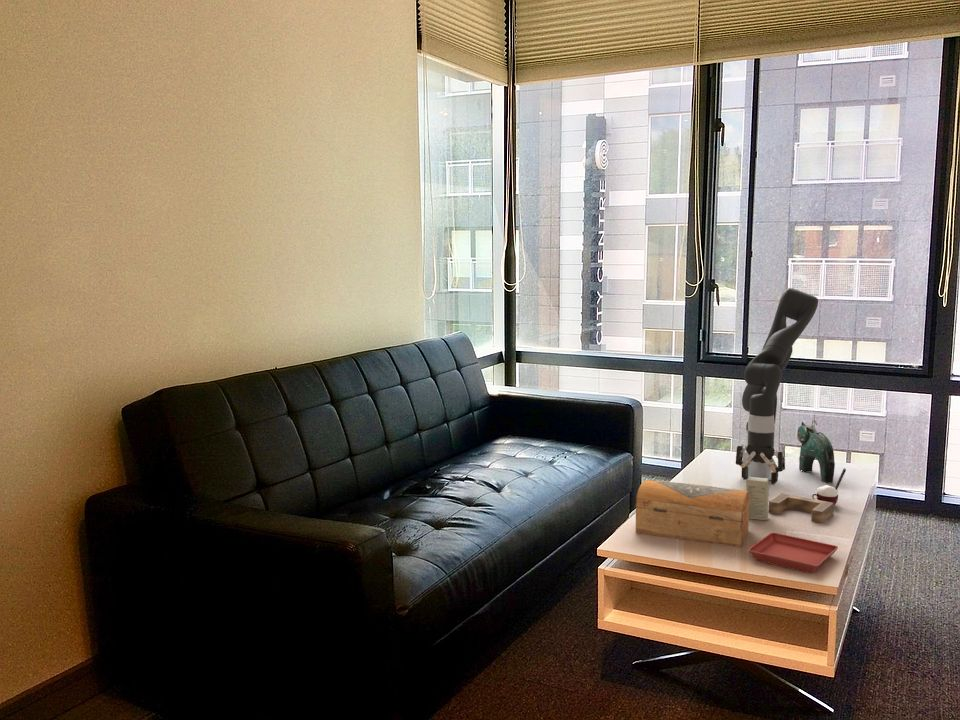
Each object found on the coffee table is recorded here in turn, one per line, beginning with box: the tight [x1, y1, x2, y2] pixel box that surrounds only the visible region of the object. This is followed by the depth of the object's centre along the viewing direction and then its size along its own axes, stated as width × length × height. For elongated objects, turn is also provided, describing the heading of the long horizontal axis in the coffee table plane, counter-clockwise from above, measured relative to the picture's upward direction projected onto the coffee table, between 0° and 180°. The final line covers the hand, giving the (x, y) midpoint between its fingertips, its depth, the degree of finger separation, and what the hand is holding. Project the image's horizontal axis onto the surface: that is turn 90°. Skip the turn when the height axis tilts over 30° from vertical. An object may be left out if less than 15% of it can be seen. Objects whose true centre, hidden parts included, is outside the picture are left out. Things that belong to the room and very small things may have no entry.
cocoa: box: [811, 467, 847, 506], centre depth 259 cm, size 10×6×12 cm, turn 55°
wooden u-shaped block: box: [768, 493, 835, 524], centre depth 252 cm, size 16×11×4 cm
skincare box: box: [745, 477, 770, 521], centre depth 248 cm, size 6×4×12 cm
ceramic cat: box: [796, 419, 836, 484], centre depth 292 cm, size 20×6×20 cm, turn 6°
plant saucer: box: [747, 532, 839, 574], centre depth 216 cm, size 18×18×3 cm
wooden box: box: [635, 479, 750, 548], centre depth 237 cm, size 30×16×14 cm, turn 64°
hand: (759, 481), depth 247 cm, fingers open, 8 cm apart
